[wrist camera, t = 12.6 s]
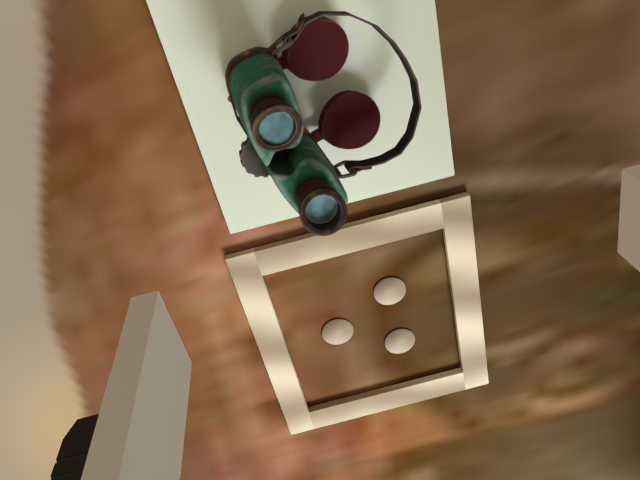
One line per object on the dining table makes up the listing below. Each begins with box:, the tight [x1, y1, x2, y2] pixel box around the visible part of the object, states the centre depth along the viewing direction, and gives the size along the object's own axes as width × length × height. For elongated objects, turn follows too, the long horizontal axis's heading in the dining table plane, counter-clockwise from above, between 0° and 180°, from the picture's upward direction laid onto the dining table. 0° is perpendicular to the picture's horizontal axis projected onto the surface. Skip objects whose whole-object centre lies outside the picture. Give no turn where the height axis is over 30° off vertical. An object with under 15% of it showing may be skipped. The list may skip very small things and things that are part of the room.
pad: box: [146, 0, 454, 234], centre depth 33 cm, size 16×15×1 cm
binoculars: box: [225, 11, 422, 236], centre depth 29 cm, size 9×11×10 cm
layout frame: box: [225, 192, 489, 435], centre depth 43 cm, size 18×17×1 cm
